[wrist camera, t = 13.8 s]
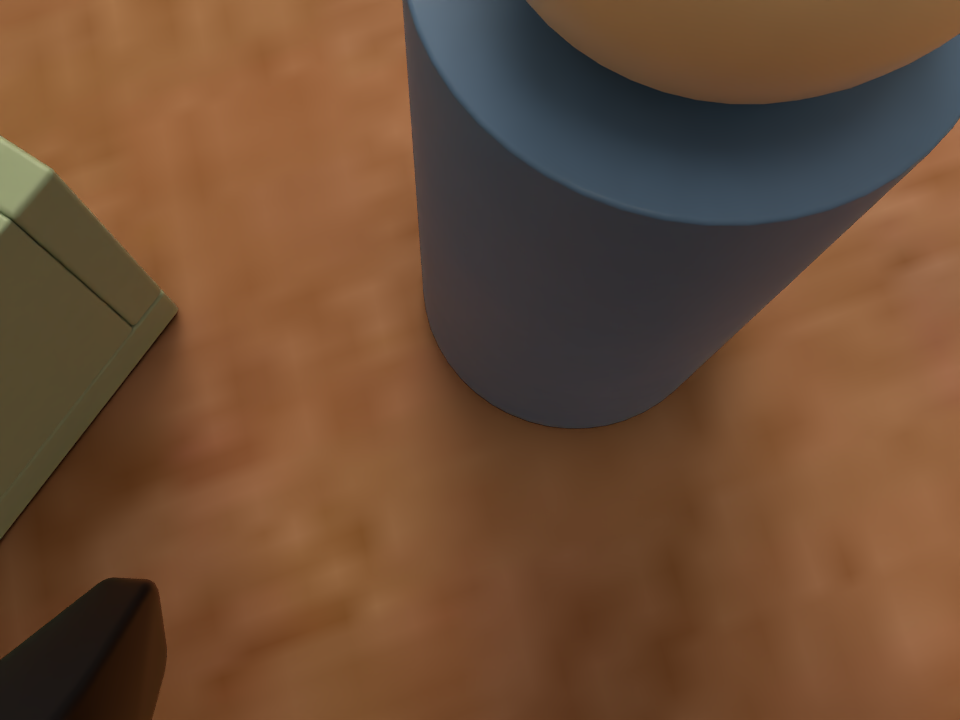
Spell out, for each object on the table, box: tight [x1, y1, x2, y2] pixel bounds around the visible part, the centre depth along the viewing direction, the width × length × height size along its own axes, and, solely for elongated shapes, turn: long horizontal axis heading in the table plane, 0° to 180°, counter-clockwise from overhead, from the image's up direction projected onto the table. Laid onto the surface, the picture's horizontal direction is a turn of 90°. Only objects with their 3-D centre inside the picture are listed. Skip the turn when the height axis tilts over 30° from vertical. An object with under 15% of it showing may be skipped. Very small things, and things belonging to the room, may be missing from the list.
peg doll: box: [403, 0, 960, 428], centre depth 10 cm, size 5×5×13 cm
